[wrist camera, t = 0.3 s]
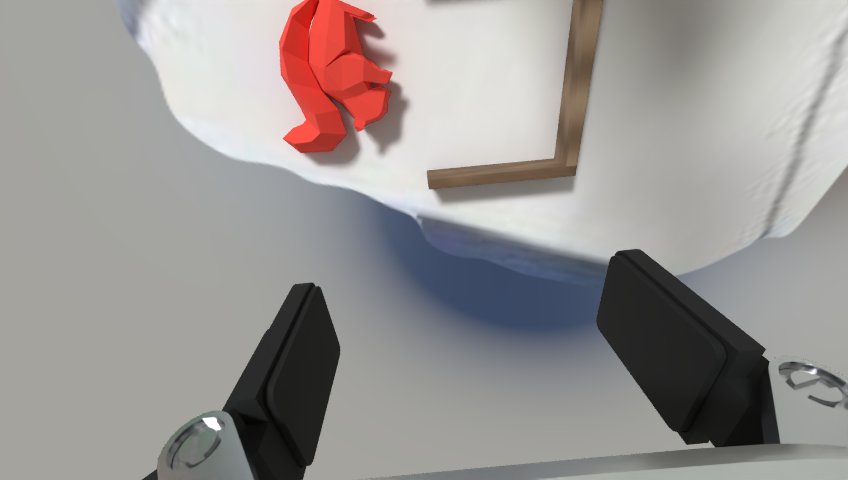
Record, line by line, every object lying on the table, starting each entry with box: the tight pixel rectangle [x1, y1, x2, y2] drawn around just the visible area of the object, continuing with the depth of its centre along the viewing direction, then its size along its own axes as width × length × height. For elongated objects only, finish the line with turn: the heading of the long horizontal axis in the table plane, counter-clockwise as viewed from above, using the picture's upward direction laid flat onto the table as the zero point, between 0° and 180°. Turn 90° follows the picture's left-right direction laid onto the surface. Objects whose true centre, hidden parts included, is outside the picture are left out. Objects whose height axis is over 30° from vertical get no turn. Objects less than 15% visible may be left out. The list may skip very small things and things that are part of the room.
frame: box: [427, 0, 603, 189], centre depth 32 cm, size 22×17×4 cm
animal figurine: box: [279, 0, 392, 153], centre depth 32 cm, size 12×15×5 cm
